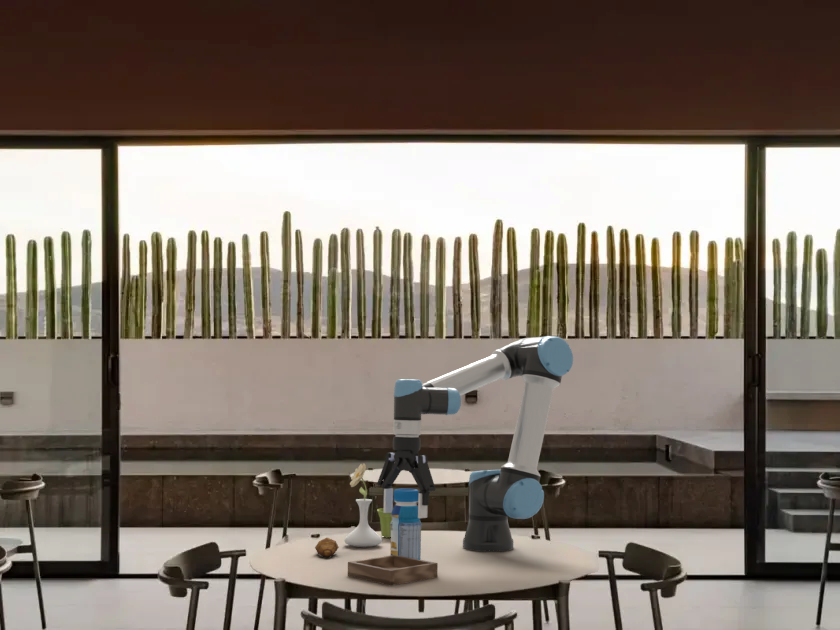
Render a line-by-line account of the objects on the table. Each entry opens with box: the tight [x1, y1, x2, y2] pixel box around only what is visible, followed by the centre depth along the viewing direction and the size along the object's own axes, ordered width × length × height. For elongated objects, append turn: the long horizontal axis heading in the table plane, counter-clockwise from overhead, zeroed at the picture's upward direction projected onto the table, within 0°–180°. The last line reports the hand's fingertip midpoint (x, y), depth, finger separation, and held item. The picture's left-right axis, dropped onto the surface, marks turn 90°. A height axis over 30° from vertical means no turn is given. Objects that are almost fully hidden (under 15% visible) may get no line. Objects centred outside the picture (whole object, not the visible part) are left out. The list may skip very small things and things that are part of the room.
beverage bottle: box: [390, 488, 423, 560], centre depth 261 cm, size 8×8×20 cm
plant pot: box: [376, 508, 392, 538], centre depth 309 cm, size 9×9×9 cm
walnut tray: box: [347, 554, 439, 587], centre depth 244 cm, size 16×16×4 cm
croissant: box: [314, 537, 340, 559], centre depth 275 cm, size 14×7×5 cm, turn 8°
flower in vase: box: [344, 463, 383, 548], centre depth 290 cm, size 13×11×25 cm
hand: (404, 515), depth 261 cm, fingers open, 13 cm apart
